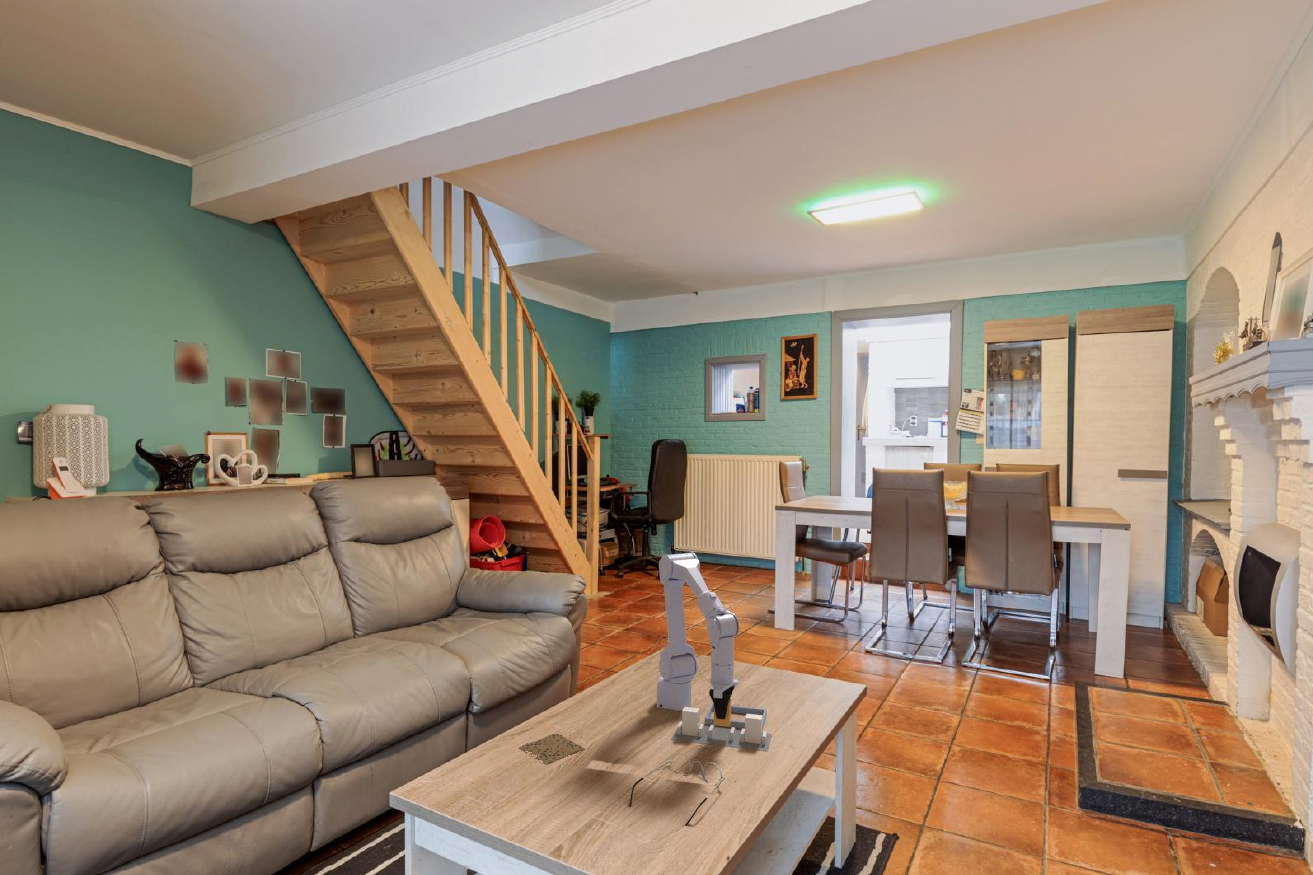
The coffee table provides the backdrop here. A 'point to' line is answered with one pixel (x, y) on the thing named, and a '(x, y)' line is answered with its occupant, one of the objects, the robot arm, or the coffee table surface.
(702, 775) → the eyeglasses
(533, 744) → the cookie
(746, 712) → the tray
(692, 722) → the block
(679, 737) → the panel
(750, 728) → the block
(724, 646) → the robot arm
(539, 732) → the coffee table surface
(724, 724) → the orange fuse
